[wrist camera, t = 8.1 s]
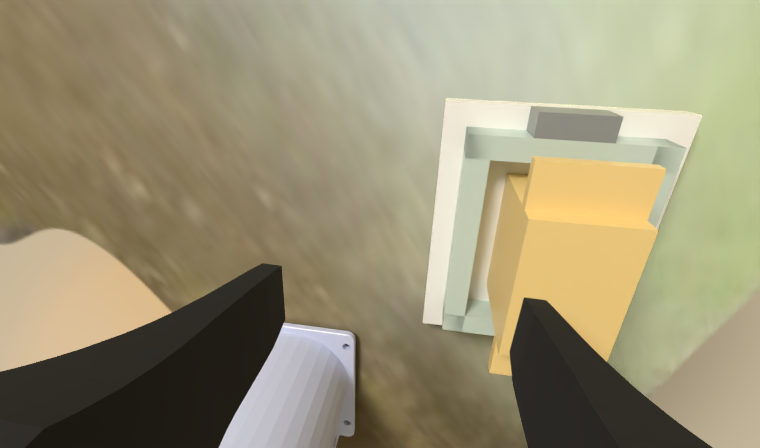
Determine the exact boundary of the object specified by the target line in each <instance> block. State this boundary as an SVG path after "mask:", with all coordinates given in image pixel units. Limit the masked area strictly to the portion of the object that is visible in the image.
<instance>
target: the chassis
mask: <svg viewBox="0 0 760 448" xmlns="http://www.w3.org/2000/svg"><path fill="white" fill-rule="evenodd" d="M702 116H703V115H700V114H696V113H693V112H689V111H676V110H657V109H639V108H621V107H602V106H584V105H566V104H547V103H529V102H511V101H492V100H474V99H456V98H446V100H445V110H444V120H443V129H442V139H441V148H440V158H439V168H438V177H437V187H436V197H435V206H434V216H433V225H432V235H431V245H430V254H429V264H428V274H427V283H426V293H425V302H424V312H423V323H427V324H435V325H442V329H443V330H451V331H459V332H467V333H475V334H483V335H490V336H494V335H495V331H494V325H493V320H492V314H491V308H490V302H489V296H488V291H487V285H486V283H487V277H488V272H489V266H490V261H491V256H492V250H493V245H494V239H495V234H496V229H497V223H498V218H499V212H500V207H501V201H502V196H503V191H504V185H505V180H506V174H507V173H518V174H529V169H530V164H531V159H532V156H540V157H555V158H569V159H584V160H598V161H612V162H627V163H641V164H656V165H660V166H662V167H664V168H665V169H667V170H666V173H665V176H664V178H663V181H662V184H661V186H660V189H659V192H658V194H657V197H656V200H655V202H654V205H653V208H652V210H651V213H650V216H649V218H648V222H650V223H651V224H652V225H653V226H654V227H655V228H656V229H657V230H658V227H659V225H660V222H661V220H662V217H663V215H664V212H665V210H666V207H667V205H668V202H669V200H670V197H671V194H672V192H673V189H674V187H675V184H676V182H677V179H678V177H679V174H680V172H681V169H682V167H683V164H684V161H685V159H686V156H687V154H688V151H689V149H690V146H691V144H692V141H693V139H694V136H695V134H696V131H697V129H698V126H699V123H700V121H701V118H702Z"/></svg>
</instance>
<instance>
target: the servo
mask: <svg viewBox="0 0 760 448" xmlns="http://www.w3.org/2000/svg"><path fill="white" fill-rule="evenodd" d="M666 170H667V169H665V168H664V167H662V166H660V165H656V164H641V163H627V162H612V161H598V160H584V159H569V158H555V157H540V156H532V159H531V164H530V169H529V174H518V173H507V174H506V180H505V185H504V191H503V196H502V201H501V207H500V212H499V218H498V223H497V229H496V234H495V239H494V245H493V250H492V256H491V261H490V266H489V272H488V277H487V283H486V285H487V291H488V296H489V302H490V308H491V314H492V320H493V325H494V331H495V335H494V340H493V344H492V349H491V354H490V359H489V363H488V365H489V373H495V374H502V375H509V376H512V372H511V362H510V352H509V351H510V348H511V344H512V340H513V337H514V333H515V329H516V325H517V322H518V318H519V314H520V310H521V307H522V303H523V299H524V297H525V298H533V299H541V300H547V301H548V302H549V303H550V304H551V305H552V306H553V307H554V308H555V309H556V311H557V312H558V313H559V314H560V315H561V316H562V317H563V318H564V319H565V320H566V321H567V322H568V323H569V324H570V325H571V326H572V327H573V329H574V330H575V331H576V332H577V333H578V334H579V335H580V336H581V337H582V338H583V339H584V340H585V341H586V342H587V343H588V344H589V345H590V346H591V347H592V348H593V349H594V350H595V351H596V352H597V353H598V354H599V355H600V356H601V357H602V358H603V359H604V360H605V361H606V362H607V361H608V358H609V356H610V353H611V351H612V348H613V346H614V343H615V340H616V338H617V335H618V333H619V330H620V328H621V325H622V323H623V320H624V318H625V315H626V313H627V310H628V307H629V305H630V302H631V300H632V297H633V295H634V292H635V290H636V287H637V285H638V282H639V280H640V277H641V274H642V272H643V269H644V267H645V264H646V262H647V259H648V257H649V254H650V252H651V249H652V247H653V244H654V241H655V239H656V236H657V234H658V231H659V230H657V229H656V228H655V227H654V226H653V225H652V224H651V223H650V222H648V218H649V216H650V213H651V210H652V208H653V205H654V202H655V200H656V197H657V194H658V192H659V189H660V186H661V184H662V181H663V178H664V176H665V173H666Z"/></svg>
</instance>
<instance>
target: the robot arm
mask: <svg viewBox="0 0 760 448" xmlns="http://www.w3.org/2000/svg"><path fill="white" fill-rule="evenodd" d="M284 321H285V308H284V294H283V280H282V266H278V265H270V264H261V265H259V266H257V267H255V268H253V269H251V270H249V271H247V272H246V273H244V274H242V275H240V276H239V277H237V278H235V279H234V280H232V281H230V282H228V283H227V284H225V285H223V286H221V287H220V288H218V289H216V290H214V291H213V292H211V293H209V294H207V295H205V296H204V297H202V298H200V299H198V300H196V301H194V302H192V303H190V304H188V305H186V306H184V307H182V308H180V309H178V310H177V311H175V312H173V313H171V314H169V315H166V316H164V317H162V318H160V319H158V320H156V321H153V322H151V323H149V324H146V325H144V326H142V327H139V328H137V329H134V330H132V331H130V332H127V333H125V334H122V335H119V336H116V337H114V338H111V339H108V340H105V341H102V342H100V343H97V344H94V345H91V346H89V347H86V348H83V349H80V350H77V351H73V352H71V353H67V354H64V355H61V356H57V357H54V358H51V359H47V360H43V361H40V362H36V363H33V364H29V365H26V366H22V367H18V368H15V369H10V370H6V371H2V372H0V448H336V446H337V442H338V439H339V435H341V436H347V437H350V436H352V435H354V431H355V347H356V338H355V335H354V334H353V333H352V332H349V331H343V330H336V329H328V328H321V327H313V326H306V325H298V324H291V323H284ZM345 344H348V345H349V346H346V345H345ZM509 352H510V362H511V372H512V380H513V387H514V391H515V396H516V400H517V404H518V408H519V412H520V417H521V421H522V425H523V429H524V433H525V437H526V441H527V445H528V448H712V447H711V446H710V445H708V444H707V443H705V442H704V441H703V440H701V439H700V438H698V437H697V436H696V435H694V434H693V433H691V432H690V431H689V430H687V429H686V428H684V427H683V426H682V425H681V424H679V423H678V422H677V421H675V420H674V419H673V418H671V417H670V416H669V415H668V414H666V413H665V412H664V411H662V410H661V409H660V408H659V407H658V406H656V405H655V404H654V403H653V402H651V401H650V400H649V399H648V398H646V397H645V396H644V395H643V394H642V393H641V392H639V391H638V390H637V389H636V388H635V387H634V386H632V385H631V384H630V383H629V382H628V381H627V380H626V379H625V378H624V377H622V376H621V375H620V374H619V373H618V372H617V371H616V370H615V369H614V368H613V367H611V366H610V365H609V364H608V363H607V362H606V361H605V360H604V359H603V358H602V357H601V356H600V355H599V354H598V353H597V352H596V351H595V350H594V349H593V348H592V347H591V346H590V345H589V344H588V343H587V342H586V341H585V340H584V339H583V338H582V337H581V336H580V335H579V334H578V333H577V332H576V331H575V330H574V329H573V327H572V326H571V325H570V324H569V323H568V322H567V321H566V320H565V319H564V318H563V317H562V316H561V315H560V314H559V313H558V312H557V311H556V309H555V308H554V307H553V306H552V305H551V304H550V303H549V302H548V301H547V300H541V299H533V298H525V297H524V299H523V303H522V307H521V310H520V314H519V318H518V322H517V325H516V329H515V333H514V337H513V340H512V344H511V348H510V351H509Z"/></svg>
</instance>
